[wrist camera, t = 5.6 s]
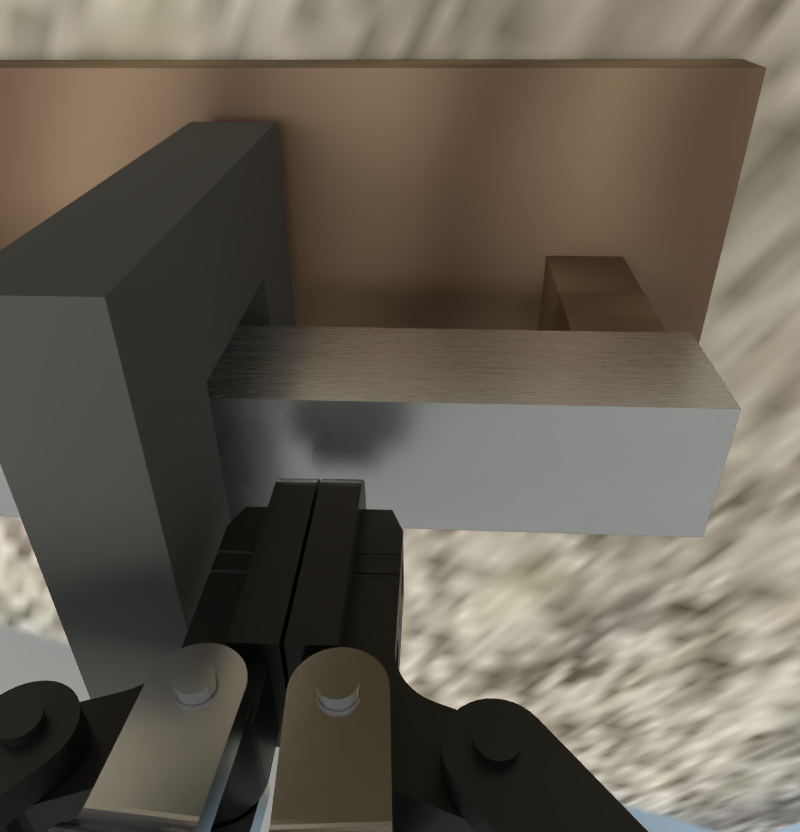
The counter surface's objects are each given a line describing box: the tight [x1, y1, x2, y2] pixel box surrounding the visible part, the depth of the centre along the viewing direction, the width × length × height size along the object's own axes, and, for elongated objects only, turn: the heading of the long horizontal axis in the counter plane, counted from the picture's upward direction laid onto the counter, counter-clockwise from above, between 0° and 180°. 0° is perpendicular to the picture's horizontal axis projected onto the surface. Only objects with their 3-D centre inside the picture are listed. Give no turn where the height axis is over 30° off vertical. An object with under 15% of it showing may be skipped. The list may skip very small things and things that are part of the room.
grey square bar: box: [0, 326, 741, 537], centre depth 15 cm, size 24×4×4 cm, turn 90°
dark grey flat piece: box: [0, 122, 296, 699], centre depth 15 cm, size 2×10×10 cm, turn 0°
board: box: [0, 59, 766, 344], centre depth 19 cm, size 26×12×6 cm, turn 90°
